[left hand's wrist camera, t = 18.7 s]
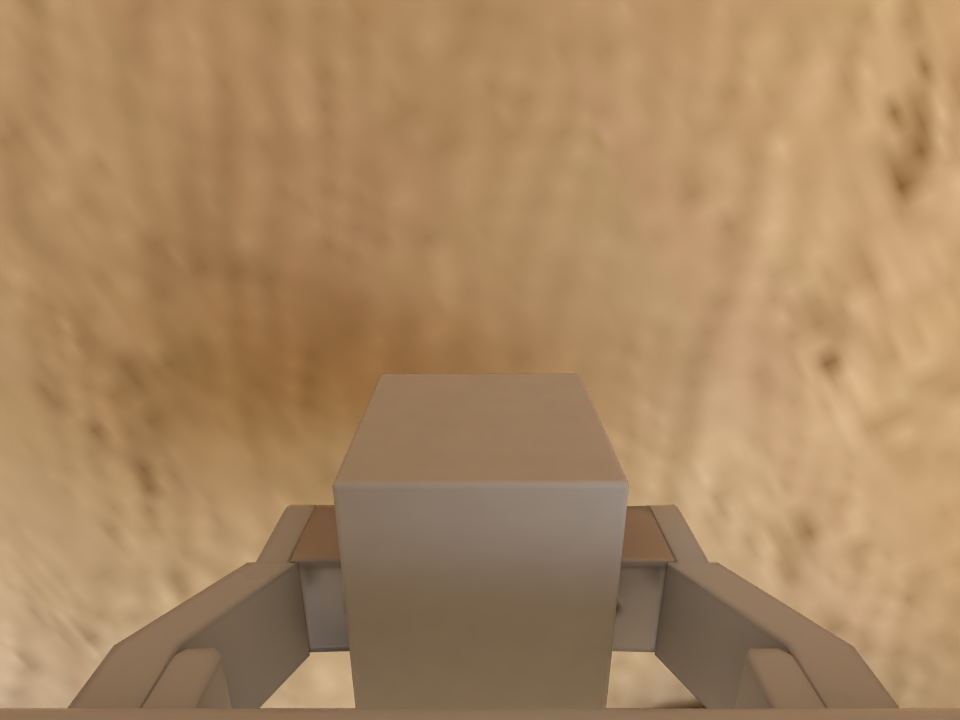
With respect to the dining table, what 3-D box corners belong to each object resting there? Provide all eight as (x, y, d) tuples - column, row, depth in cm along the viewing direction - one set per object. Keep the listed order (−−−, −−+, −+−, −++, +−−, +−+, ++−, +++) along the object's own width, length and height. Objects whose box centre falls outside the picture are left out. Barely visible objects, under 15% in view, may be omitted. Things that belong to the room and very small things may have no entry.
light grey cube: (568, 558, 13) (606, 728, 9) (392, 559, 13) (355, 728, 9) (580, 372, 11) (631, 482, 8) (379, 372, 11) (329, 483, 8)
